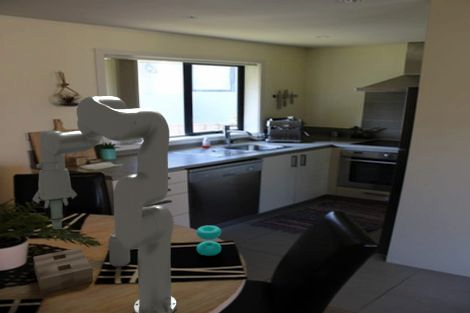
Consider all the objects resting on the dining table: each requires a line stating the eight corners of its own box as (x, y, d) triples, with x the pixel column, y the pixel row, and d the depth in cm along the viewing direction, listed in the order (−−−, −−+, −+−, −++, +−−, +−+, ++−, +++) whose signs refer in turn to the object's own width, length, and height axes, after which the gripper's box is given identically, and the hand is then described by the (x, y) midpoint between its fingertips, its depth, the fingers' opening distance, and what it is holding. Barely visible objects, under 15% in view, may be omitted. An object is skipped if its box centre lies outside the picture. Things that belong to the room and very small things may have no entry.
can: (124, 268, 143) (123, 237, 141) (106, 266, 144) (104, 236, 142) (133, 260, 150) (132, 230, 148) (116, 258, 151) (114, 229, 149)
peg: (65, 232, 138) (63, 199, 136) (51, 234, 136) (49, 201, 134) (63, 228, 142) (61, 196, 140) (49, 230, 140) (47, 198, 138)
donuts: (193, 226, 160) (216, 223, 163) (193, 249, 161) (216, 245, 165) (200, 234, 150) (224, 231, 154) (200, 258, 152) (224, 254, 156)
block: (93, 281, 133) (92, 267, 132) (41, 293, 124) (40, 279, 124) (80, 259, 150) (80, 247, 149) (34, 269, 141) (33, 256, 140)
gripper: (27, 170, 127) (31, 223, 130) (81, 165, 136) (83, 215, 139) (25, 166, 133) (28, 217, 136) (76, 162, 142) (79, 210, 146)
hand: (56, 216), depth 138 cm, fingers closed on peg, 4 cm apart
